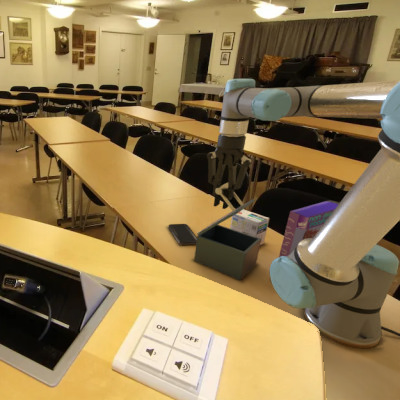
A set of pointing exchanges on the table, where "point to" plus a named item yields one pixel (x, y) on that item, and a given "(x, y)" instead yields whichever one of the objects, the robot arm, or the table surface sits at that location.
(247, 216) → the light bulb box
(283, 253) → the cereal box
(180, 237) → the phone
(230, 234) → the dark green box
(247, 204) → the lid
